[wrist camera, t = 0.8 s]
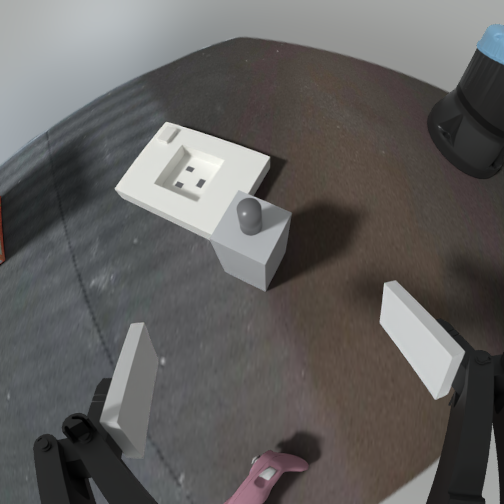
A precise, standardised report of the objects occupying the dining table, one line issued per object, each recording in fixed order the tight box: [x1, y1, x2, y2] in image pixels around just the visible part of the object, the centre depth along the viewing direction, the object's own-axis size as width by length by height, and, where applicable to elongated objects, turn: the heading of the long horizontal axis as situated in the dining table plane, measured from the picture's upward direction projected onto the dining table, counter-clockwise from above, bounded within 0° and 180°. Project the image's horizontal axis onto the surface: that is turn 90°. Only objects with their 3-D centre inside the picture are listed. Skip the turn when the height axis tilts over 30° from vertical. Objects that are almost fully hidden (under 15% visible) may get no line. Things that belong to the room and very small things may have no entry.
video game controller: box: [224, 450, 309, 504], centre depth 24 cm, size 10×5×7 cm, turn 150°
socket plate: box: [115, 122, 270, 240], centre depth 37 cm, size 16×12×3 cm
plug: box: [209, 190, 292, 292], centre depth 28 cm, size 6×5×13 cm
